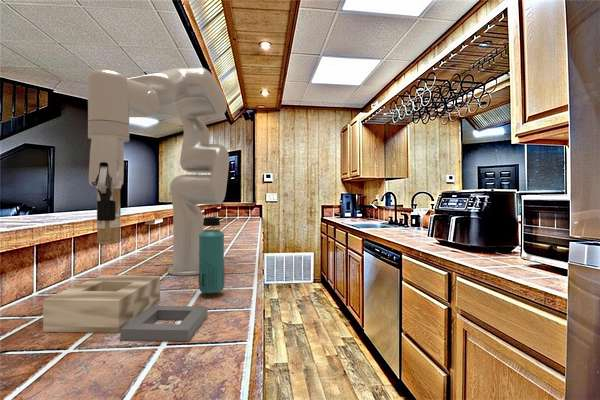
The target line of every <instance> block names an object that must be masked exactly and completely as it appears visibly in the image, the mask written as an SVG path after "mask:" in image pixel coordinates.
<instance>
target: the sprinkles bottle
mask: <svg viewBox="0 0 600 400" xmlns="http://www.w3.org/2000/svg"><path fill="white" fill-rule="evenodd" d="M97 181H98V180H97ZM111 181H112V179H111ZM111 184H112V183H107V185H111ZM95 187H96V197H97V196H98V182H96V186H95ZM121 189H122V185H121V181H120V183H119V185H117V186H114V201H116V218H115V220H114V221H98V220H97V219H96V230H97V234H96V235H97V236H96V237H97V240H96V243H97V244H99V245H113V244H118V243H121V242H122V239H121V226H122V225H121V220H122V219H121V216H122V215H121V212H122V211H121ZM97 201H98V200H96V202H97Z"/></svg>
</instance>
